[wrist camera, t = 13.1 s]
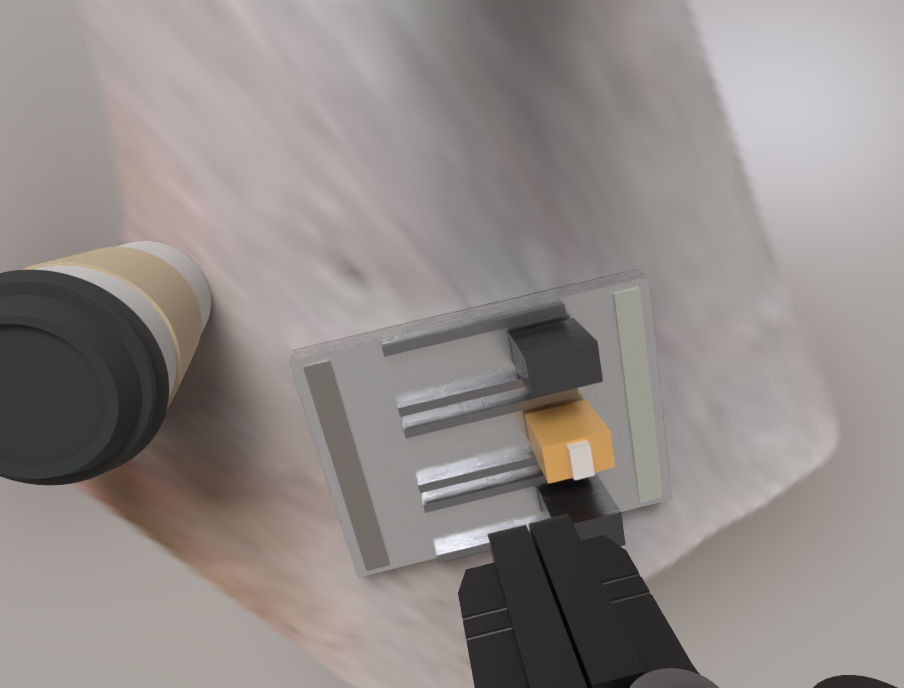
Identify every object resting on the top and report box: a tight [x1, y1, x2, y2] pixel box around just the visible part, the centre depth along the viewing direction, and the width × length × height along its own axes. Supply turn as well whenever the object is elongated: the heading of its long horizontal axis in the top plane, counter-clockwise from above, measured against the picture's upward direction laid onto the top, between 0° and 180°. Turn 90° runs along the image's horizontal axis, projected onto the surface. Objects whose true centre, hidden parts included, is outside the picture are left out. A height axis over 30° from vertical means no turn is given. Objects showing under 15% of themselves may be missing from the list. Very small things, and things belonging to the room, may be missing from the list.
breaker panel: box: [289, 270, 672, 578], centre depth 40 cm, size 16×22×7 cm
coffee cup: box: [0, 241, 211, 485], centre depth 31 cm, size 9×9×15 cm
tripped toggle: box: [525, 400, 615, 484], centre depth 39 cm, size 2×4×5 cm, turn 102°
